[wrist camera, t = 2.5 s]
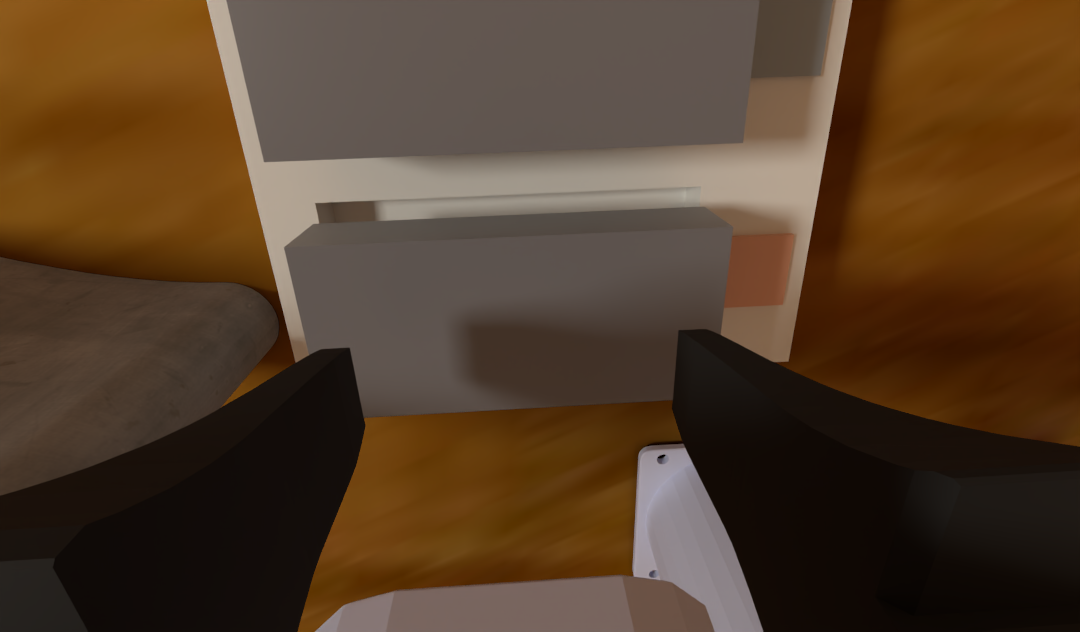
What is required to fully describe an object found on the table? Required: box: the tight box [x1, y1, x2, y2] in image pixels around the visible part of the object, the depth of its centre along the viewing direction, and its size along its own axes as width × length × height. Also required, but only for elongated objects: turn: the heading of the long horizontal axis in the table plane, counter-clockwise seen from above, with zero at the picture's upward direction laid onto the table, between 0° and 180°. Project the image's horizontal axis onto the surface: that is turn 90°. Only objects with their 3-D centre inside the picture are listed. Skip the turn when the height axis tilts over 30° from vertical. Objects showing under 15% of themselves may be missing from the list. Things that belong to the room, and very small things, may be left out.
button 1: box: [284, 207, 733, 418], centre depth 15 cm, size 11×5×2 cm, turn 92°
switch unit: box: [206, 0, 852, 362], centre depth 16 cm, size 17×21×3 cm
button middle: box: [226, 0, 760, 162], centre depth 13 cm, size 11×5×2 cm, turn 92°
